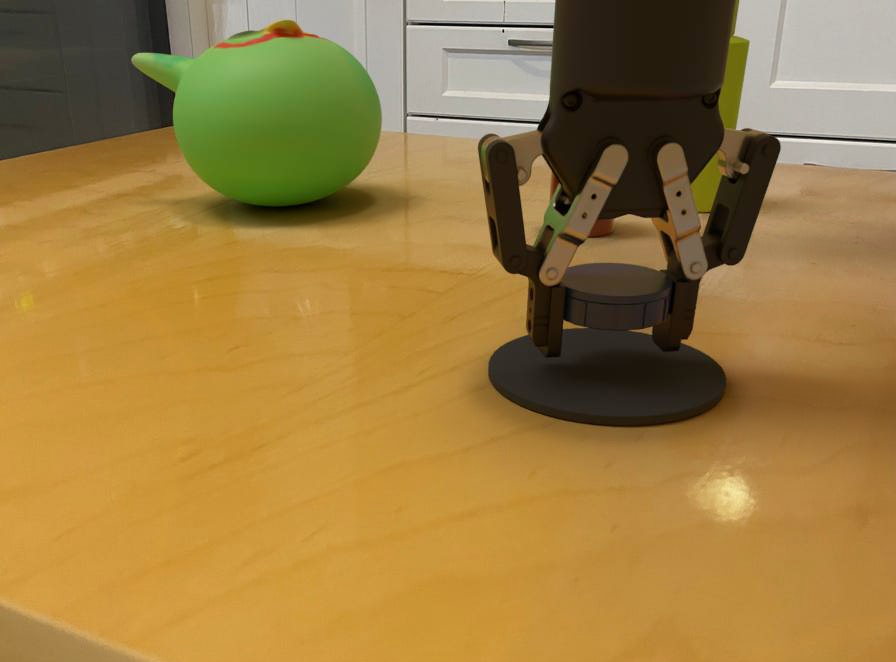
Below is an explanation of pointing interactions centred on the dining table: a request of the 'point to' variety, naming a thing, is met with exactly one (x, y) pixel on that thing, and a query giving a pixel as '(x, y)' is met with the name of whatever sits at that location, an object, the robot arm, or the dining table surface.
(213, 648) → the dining table surface
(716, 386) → the coaster
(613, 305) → the lid
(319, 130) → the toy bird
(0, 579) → the dining table surface
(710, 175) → the soap dispenser
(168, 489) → the dining table surface
